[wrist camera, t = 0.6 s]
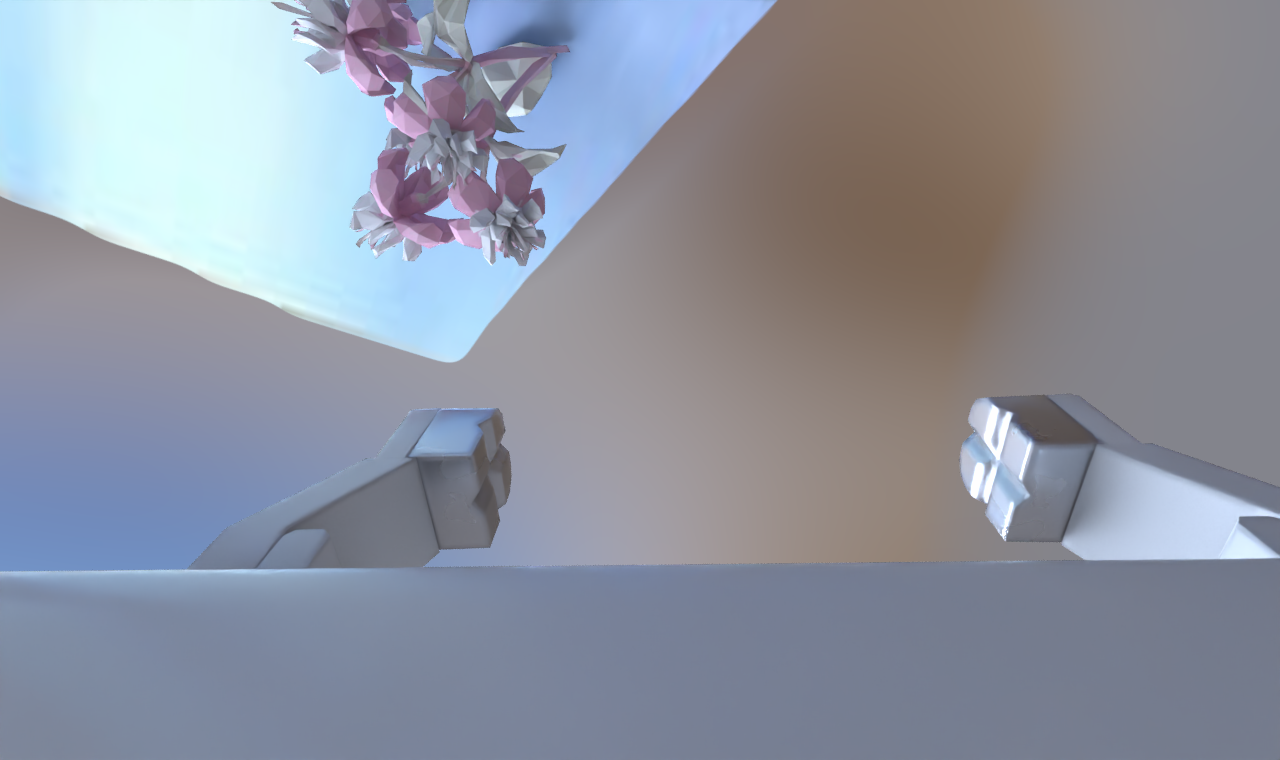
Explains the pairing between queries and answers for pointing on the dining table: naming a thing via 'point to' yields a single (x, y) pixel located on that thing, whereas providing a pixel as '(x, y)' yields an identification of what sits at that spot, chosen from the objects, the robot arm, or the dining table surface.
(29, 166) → the dining table surface
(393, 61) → the flower
